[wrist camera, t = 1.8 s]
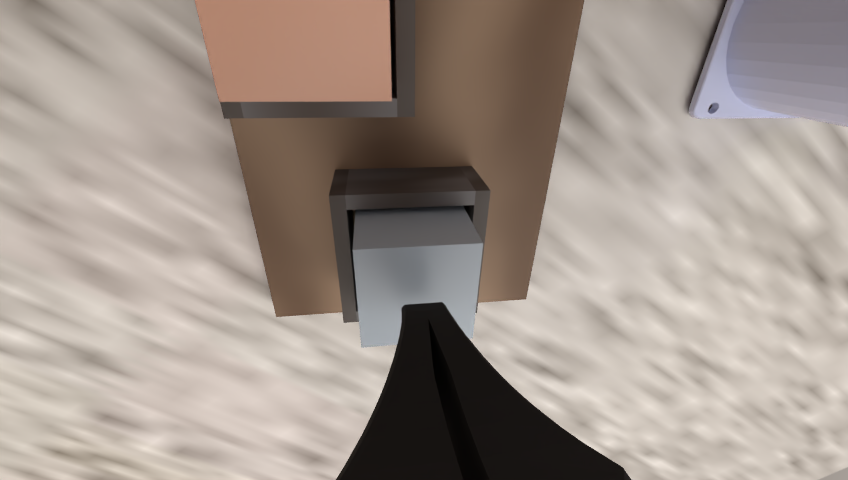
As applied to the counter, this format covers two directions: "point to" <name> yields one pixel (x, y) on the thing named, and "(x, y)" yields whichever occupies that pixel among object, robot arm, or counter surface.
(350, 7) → the salmon pink cube
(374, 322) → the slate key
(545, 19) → the brown socket board
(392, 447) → the robot arm
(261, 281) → the counter surface
